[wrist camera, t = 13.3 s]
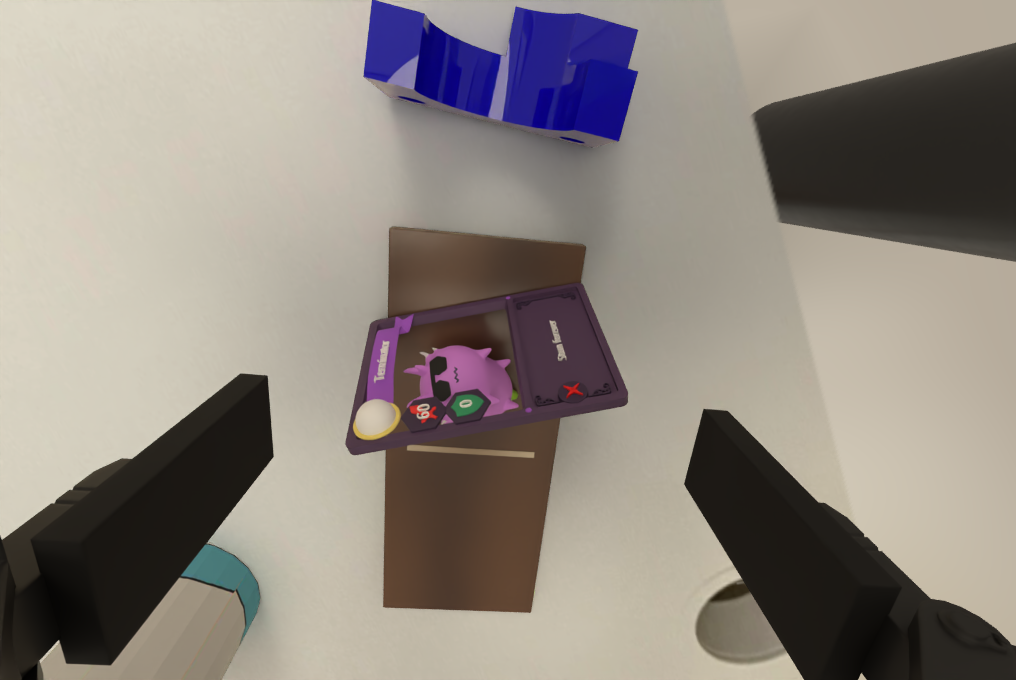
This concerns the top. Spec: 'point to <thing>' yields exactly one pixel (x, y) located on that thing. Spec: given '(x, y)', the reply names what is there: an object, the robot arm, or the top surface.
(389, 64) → the cable holder
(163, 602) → the cup
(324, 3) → the top surface
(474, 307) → the game card
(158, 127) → the top surface
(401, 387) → the brown slotted board
